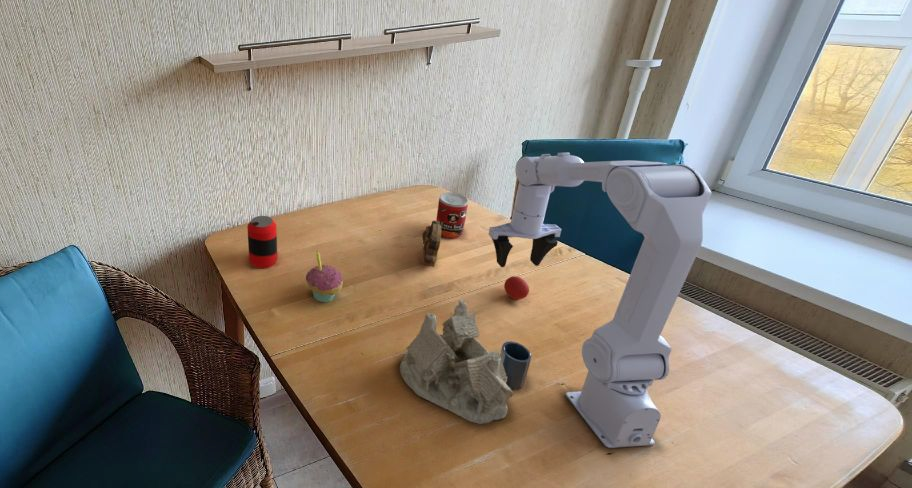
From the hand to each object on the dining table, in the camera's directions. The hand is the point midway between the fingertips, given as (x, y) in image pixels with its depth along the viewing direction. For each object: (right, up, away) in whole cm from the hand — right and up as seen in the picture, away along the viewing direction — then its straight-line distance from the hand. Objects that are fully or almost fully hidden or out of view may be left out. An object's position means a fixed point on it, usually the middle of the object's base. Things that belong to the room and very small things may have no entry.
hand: (517, 263), depth 95 cm
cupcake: (-42, -9, +6) cm, 44 cm away
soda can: (-57, -5, +20) cm, 61 cm away
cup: (-10, -17, -16) cm, 25 cm away
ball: (+2, -7, +4) cm, 8 cm away
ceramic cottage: (-22, -18, -17) cm, 33 cm away
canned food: (-3, +1, +30) cm, 31 cm away
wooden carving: (-13, -4, +19) cm, 23 cm away
